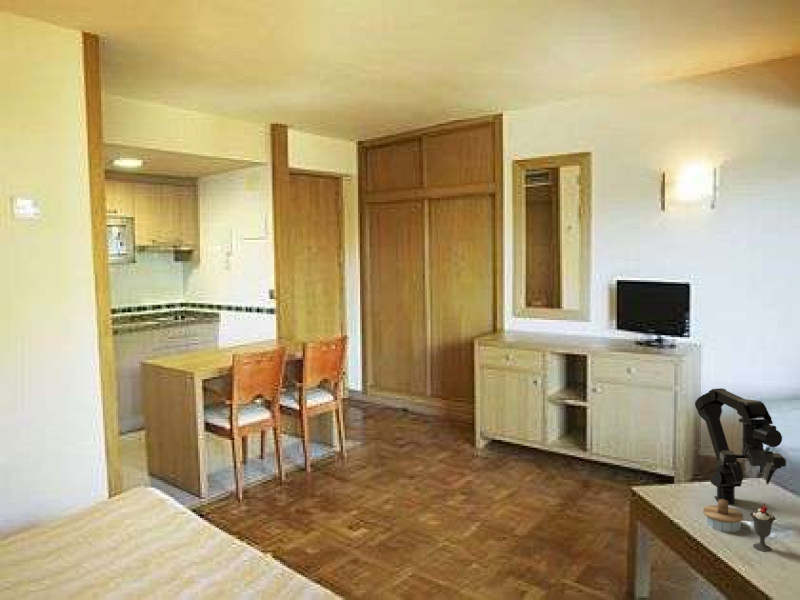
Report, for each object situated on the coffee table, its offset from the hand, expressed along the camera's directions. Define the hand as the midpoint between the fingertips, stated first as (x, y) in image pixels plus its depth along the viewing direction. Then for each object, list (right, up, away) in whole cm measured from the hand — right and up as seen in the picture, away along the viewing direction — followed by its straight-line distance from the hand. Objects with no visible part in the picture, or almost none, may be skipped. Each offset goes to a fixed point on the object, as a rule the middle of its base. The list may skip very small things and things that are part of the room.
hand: (751, 482), depth 199 cm
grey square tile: (-1, -12, +2) cm, 13 cm away
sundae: (-9, -14, -19) cm, 26 cm away
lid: (-13, -9, -5) cm, 16 cm away
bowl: (-13, -13, -5) cm, 19 cm away
